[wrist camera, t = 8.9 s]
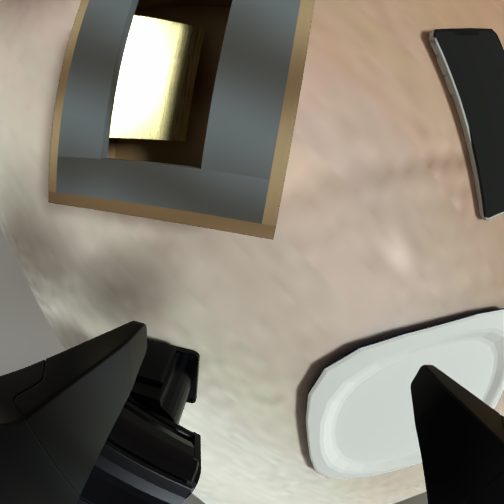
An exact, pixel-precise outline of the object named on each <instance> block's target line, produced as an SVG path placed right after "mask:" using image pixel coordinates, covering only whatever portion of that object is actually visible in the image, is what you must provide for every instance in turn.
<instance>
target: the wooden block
mask: <svg viewBox="0 0 504 504" xmlns="http://www.w3.org/2000/svg"><path fill="white" fill-rule="evenodd" d="M205 30H206V29H203V28H199V27H195V26H191V25H186V24H182V23H177V22H172V21H167V20H162V19H156V18H150V17H143V16H136V15H134V17H133V21H132V24H131V28H130V31H129V35H128V39H127V43H126V47H125V51H124V55H123V60H122V64H121V69H120V74H119V78H118V84H117V89H116V95H115V101H114V107H113V113H112V120H111V128H110V136H109V138H137V139H155V140H170V141H182V142H185V139H186V132H187V126H188V119H189V113H190V107H191V101H192V95H193V89H194V84H195V78H196V73H197V68H198V63H199V58H200V53H201V48H202V43H203V39H204V34H205Z"/></svg>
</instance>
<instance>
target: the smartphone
mask: <svg viewBox="0 0 504 504" xmlns="http://www.w3.org/2000/svg"><path fill="white" fill-rule="evenodd" d="M428 39H429V41H430V44H431V46H432V49H433V51H434V53H435V55H436V56H437V59H436V60H437V62H438V65H439V67H440V69H441V72H442V74H443V76H445V77H444V79H445V82H446V85H447V87H448V90H449V93H450V94H452V97H453V100H454V103H455V106H456V109H457V112H458V116H459V119H460V122H461V126H462V129H463V133H464V137H465V140H466V144H467V148H468V152H469V157H470V161H471V166H472V171H473V176H474V181H475V187H476V193H477V199H478V206H479V214H480V216H481V218H482V219H484V220H486V221H487V220H490V219H492V218H494V217H497V216H499V215H501V214H503V213H504V50H503V47H502V45H501V42H500V40H499V38H498V36H497V34H496V33H495V32H494V31H493V30H492V29H475V28H464V29H437V30H433V31H431V32H430V33H429V37H428Z"/></svg>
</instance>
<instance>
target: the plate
mask: <svg viewBox="0 0 504 504" xmlns="http://www.w3.org/2000/svg"><path fill="white" fill-rule="evenodd" d="M422 365H434V366H435V367H436V368H438V369H439V370H441V371H442V372H443V373H445V374H446V375H447V376H449V377H450V378H452V379H453V380H454V381H456V382H457V383H458V384H460V385H461V386H463V387H464V388H465V389H467V390H468V391H469V392H471V393H472V394H473V395H475V396H476V397H478V398H479V399H480V400H482V401H483V402H484V403H486V404H487V405H488V406H490V407H491V408H492V409H494V408H495V406H496V405H497V403H498V401H499V399H500V397H501V394H502V392H503V390H504V308H503V309H498V310H492V311H487V312H481V313H476V314H473V315H469V316H466V317H462V318H459V319H455V320H452V321H448V322H444V323H440V324H437V325H433V326H430V327H426V328H422V329H418V330H414V331H410V332H406V333H402V334H399V335H396V336H393V337H390V338H387V339H384V340H381V341H378V342H375V343H371V344H368V345H365V346H361V347H358V348H357V349H355V350H354V351H352V352H350V353H349V354H347V355H345V356H343V357H342V358H340V359H338V360H337V361H335V362H333V363H331V364H330V365H328V366H326V367H324V369H323V371H322V372H321V374H320V375H319V377H318V379H317V380H316V382H315V383H314V385H313V386H312V388H311V390H310V391H309V393H308V401H307V411H306V429H307V441H308V448H309V455H310V459H311V462H312V464H313V467H314V469H315V471H317V472H318V473H320V474H322V475H323V476H325V477H327V478H336V479H355V478H362V477H368V476H374V475H379V474H383V473H387V472H391V471H395V470H399V469H402V468H406V467H409V466H412V465H416V464H419V463H422V458H421V453H420V447H419V442H418V437H417V432H416V427H415V420H414V412H413V404H412V396H411V389H410V388H411V383H412V381H413V379H414V377H415V376H416V374H417V372H418V371H419V369H420V367H421V366H422Z"/></svg>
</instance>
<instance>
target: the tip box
mask: <svg viewBox="0 0 504 504" xmlns="http://www.w3.org/2000/svg"><path fill="white" fill-rule="evenodd" d="M314 2H315V0H82V1H81V3H80V6H79V9H78V12H77V15H76V18H75V21H74V24H73V28H72V31H71V35H70V38H69V42H68V46H67V49H66V53H65V57H64V62H63V66H62V71H61V76H60V81H59V86H58V91H57V97H56V104H55V110H54V118H53V126H52V136H51V147H50V162H49V203H55V204H62V205H69V206H75V207H82V208H88V209H95V210H101V211H107V212H114V213H120V214H126V215H132V216H139V217H145V218H151V219H157V220H163V221H169V222H175V223H181V224H187V225H192V226H198V227H204V228H210V229H216V230H221V231H227V232H233V233H238V234H244V235H250V236H255V237H261V238H266V239H272V240H273V238H274V233H275V228H276V223H277V218H278V212H279V207H280V202H281V197H282V191H283V186H284V180H285V175H286V170H287V164H288V159H289V153H290V147H291V142H292V136H293V131H294V125H295V119H296V113H297V108H298V102H299V96H300V90H301V84H302V78H303V72H304V66H305V60H306V54H307V47H308V41H309V35H310V28H311V22H312V15H313V9H314ZM134 15H136V16H143V17H150V18H156V19H162V20H167V21H172V22H177V23H182V24H186V25H191V26H195V27H199V28H203V29H206V30H205V34H204V39H203V43H202V48H201V53H200V58H199V63H198V68H197V73H196V78H195V84H194V89H193V95H192V101H191V107H190V113H189V119H188V126H187V132H186V139H185V142H182V141H170V140H155V139H137V138H109V136H110V128H111V120H112V113H113V107H114V101H115V95H116V89H117V84H118V78H119V74H120V69H121V64H122V60H123V55H124V51H125V47H126V43H127V39H128V35H129V31H130V28H131V24H132V21H133V17H134Z"/></svg>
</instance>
